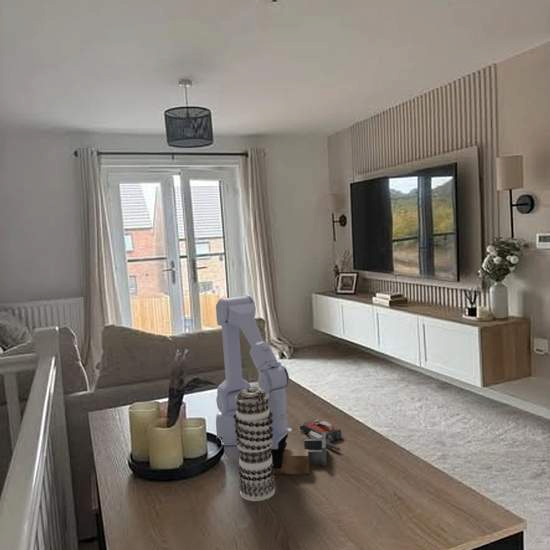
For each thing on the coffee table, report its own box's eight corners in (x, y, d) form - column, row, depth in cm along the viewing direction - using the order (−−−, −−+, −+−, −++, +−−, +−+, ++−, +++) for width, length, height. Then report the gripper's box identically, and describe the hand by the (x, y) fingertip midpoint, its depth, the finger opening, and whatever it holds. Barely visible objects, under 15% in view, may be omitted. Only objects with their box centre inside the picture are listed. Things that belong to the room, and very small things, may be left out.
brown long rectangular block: (246, 474, 132) (245, 455, 132) (249, 467, 136) (248, 449, 136) (308, 474, 130) (307, 455, 130) (309, 467, 134) (308, 449, 134)
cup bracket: (303, 466, 135) (302, 447, 134) (304, 449, 144) (304, 432, 144) (326, 466, 134) (325, 447, 134) (326, 449, 144) (325, 432, 143)
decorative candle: (272, 503, 117) (266, 397, 115) (233, 500, 119) (227, 396, 117) (280, 483, 126) (274, 384, 124) (244, 481, 128) (238, 384, 126)
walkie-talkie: (294, 433, 157) (336, 455, 141) (293, 419, 157) (335, 440, 140) (316, 426, 162) (360, 446, 145) (316, 412, 162) (359, 431, 145)
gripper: (288, 423, 124) (291, 477, 125) (292, 403, 139) (294, 451, 140) (260, 424, 125) (263, 477, 126) (266, 403, 139) (269, 451, 141)
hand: (278, 464), depth 133 cm, fingers closed on brown long rectangular block, 4 cm apart
